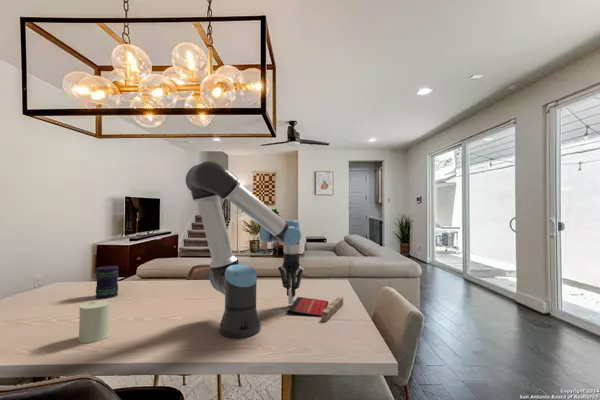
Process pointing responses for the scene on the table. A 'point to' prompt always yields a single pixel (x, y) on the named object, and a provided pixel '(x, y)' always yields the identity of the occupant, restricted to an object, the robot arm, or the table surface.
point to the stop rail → (332, 309)
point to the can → (94, 321)
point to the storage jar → (107, 282)
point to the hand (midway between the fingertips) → (291, 303)
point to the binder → (308, 307)
